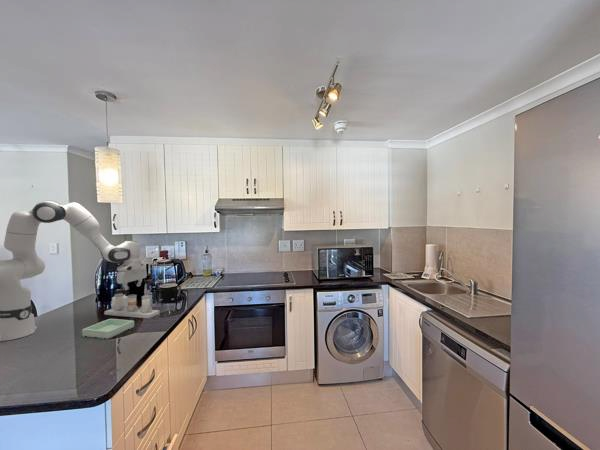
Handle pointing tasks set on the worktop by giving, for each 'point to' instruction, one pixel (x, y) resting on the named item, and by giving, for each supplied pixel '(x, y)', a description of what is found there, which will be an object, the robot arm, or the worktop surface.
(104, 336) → the tray
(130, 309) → the fuse marked
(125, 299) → the medicine bottle
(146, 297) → the fuse right
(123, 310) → the holder
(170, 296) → the mug
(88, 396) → the worktop surface
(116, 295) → the fuse left
